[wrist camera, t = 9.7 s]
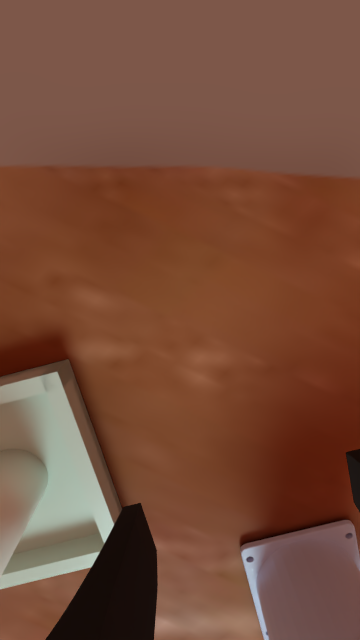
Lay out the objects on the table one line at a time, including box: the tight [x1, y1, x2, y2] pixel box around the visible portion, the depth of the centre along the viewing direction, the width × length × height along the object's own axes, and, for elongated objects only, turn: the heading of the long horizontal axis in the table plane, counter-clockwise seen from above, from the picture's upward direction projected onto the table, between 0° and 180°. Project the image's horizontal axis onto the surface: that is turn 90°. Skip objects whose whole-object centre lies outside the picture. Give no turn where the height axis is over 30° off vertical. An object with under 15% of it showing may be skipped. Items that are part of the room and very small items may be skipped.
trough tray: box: [0, 359, 122, 589], centre depth 20 cm, size 13×11×2 cm
